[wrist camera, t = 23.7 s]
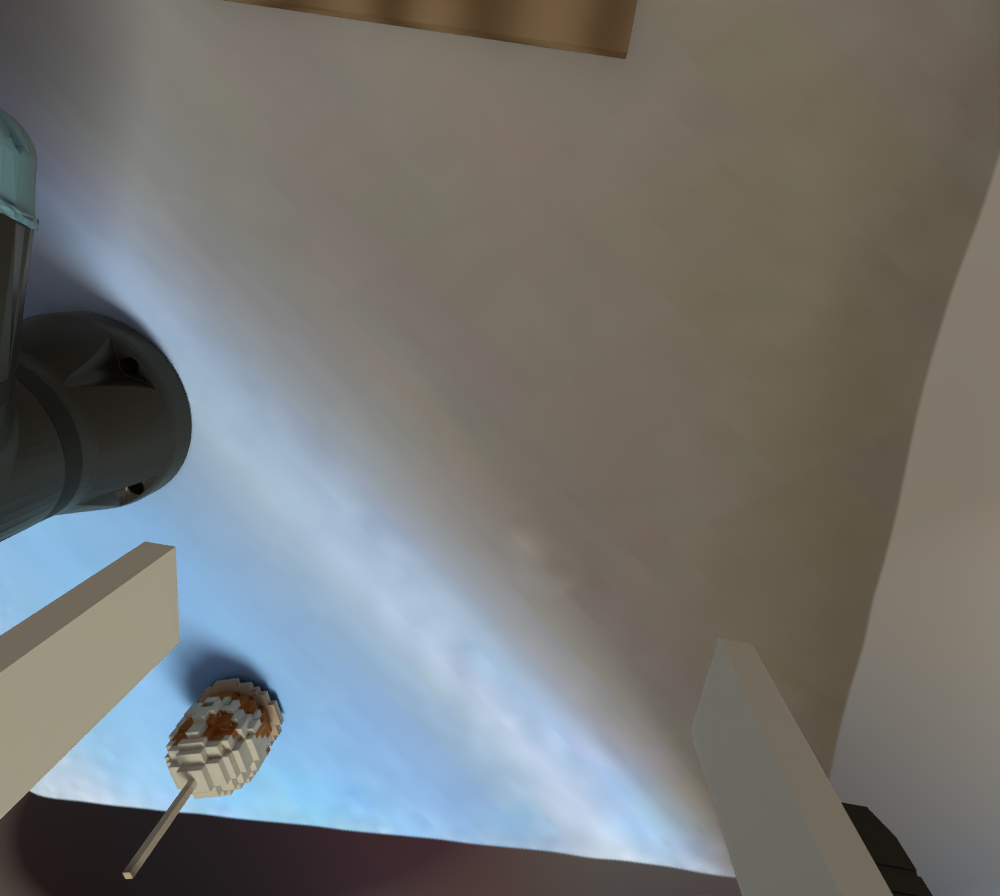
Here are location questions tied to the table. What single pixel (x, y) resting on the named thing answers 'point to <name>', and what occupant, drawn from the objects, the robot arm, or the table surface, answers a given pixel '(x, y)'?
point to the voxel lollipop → (216, 749)
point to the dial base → (495, 19)
